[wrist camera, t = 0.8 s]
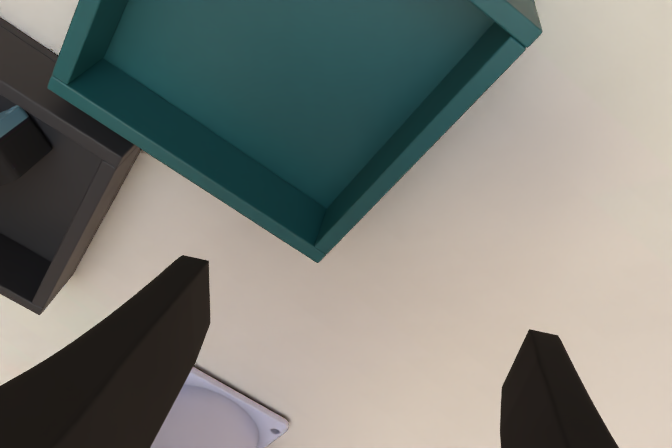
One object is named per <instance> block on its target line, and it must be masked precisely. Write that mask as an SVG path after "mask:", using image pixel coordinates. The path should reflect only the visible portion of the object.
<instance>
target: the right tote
mask: <svg viewBox="0 0 672 448" xmlns="http://www.w3.org/2000/svg"><path fill="white" fill-rule="evenodd" d="M541 34H542V28H541V25H540V21H539V17H538V14H537V10H536V7H535V2H534V0H79V2H78V5H77V7H76V10H75V13H74V16H73V18H72V21H71V24H70V26H69V29H68V32H67V34H66V37H65V40H64V43H63V45H62V48H61V51H60V53H59V56H58V59H57V61H56V64H55V67H54V70H53V72H52V76H51V78H50V80H49V83H48V86H47V88H48V89H49V90H51V91H52V92H54V93H55V94H57V95H58V96H60V97H62V98H63V99H65V100H66V101H68V102H69V103H71V104H72V105H74V106H75V107H77V108H79V109H80V110H82V111H83V112H85V113H86V114H88V115H89V116H91V117H92V118H94V119H96V120H97V121H99V122H100V123H102V124H103V125H105V126H106V127H108V128H109V129H111V130H113V131H114V132H116V133H117V134H119V135H120V136H122V137H123V138H125V139H126V140H128V141H130V142H131V143H133V144H134V145H136V146H137V147H139V148H140V149H142V150H143V151H145V152H147V153H148V154H150V155H151V156H153V157H154V158H156V159H157V160H159V161H160V162H162V163H164V164H165V165H167V166H168V167H170V168H171V169H173V170H174V171H176V172H177V173H179V174H181V175H182V176H184V177H185V178H187V179H188V180H190V181H191V182H193V183H194V184H196V185H198V186H199V187H201V188H202V189H204V190H205V191H207V192H208V193H210V194H211V195H213V196H215V197H216V198H218V199H219V200H221V201H222V202H224V203H225V204H227V205H228V206H230V207H232V208H233V209H235V210H236V211H238V212H239V213H241V214H242V215H244V216H245V217H247V218H249V219H250V220H252V221H253V222H255V223H256V224H258V225H259V226H261V227H262V228H264V229H266V230H267V231H269V232H270V233H272V234H273V235H275V236H276V237H278V238H279V239H281V240H283V241H284V242H286V243H287V244H289V245H290V246H292V247H293V248H295V249H296V250H298V251H300V252H301V253H303V254H304V255H306V256H307V257H309V258H310V259H312V260H313V261H315V262H317V263H319V262H320V261H321V260H322V259H323V258H324V257H325V256H326V254H327V253H329V251H330V250H331V249H332V248H333V247H334V246H335V245H336V244H337V243H338V242H339V241H340V240H341V239H342V238H343V237H344V236H345V235H346V234H347V233H348V232H349V231H350V230H351V229H352V228H353V227H354V226H355V225H356V224H357V223H358V222H359V221H360V220H361V219H362V218H363V217H364V216H365V214H366V213H367V212H368V211H369V210H370V209H371V208H372V207H373V206H374V205H375V204H376V203H377V202H378V201H379V200H380V199H381V198H382V197H383V196H384V195H385V194H386V193H387V192H388V191H389V190H390V189H391V188H392V187H393V186H394V185H395V184H396V183H397V182H398V181H399V180H400V179H401V177H402V176H403V175H404V174H405V173H406V172H407V171H408V170H409V169H410V168H411V167H412V166H413V165H414V164H415V163H416V162H417V161H418V160H419V159H420V158H421V157H422V156H423V155H424V154H425V153H426V152H427V151H428V150H429V149H430V148H431V147H432V146H433V145H434V144H435V143H436V142H437V141H438V139H439V138H440V137H441V136H442V135H443V134H444V133H445V132H446V131H447V130H448V129H449V128H450V127H451V126H452V125H453V124H454V123H455V122H456V121H457V120H458V119H459V118H460V117H461V116H462V115H463V114H464V113H465V112H466V111H467V110H468V109H469V108H470V107H471V106H472V105H473V104H474V102H475V101H476V100H477V99H478V98H479V97H480V96H481V95H482V94H483V93H484V92H485V91H486V90H487V89H488V88H489V87H490V86H491V85H492V84H493V83H494V82H495V81H496V80H497V79H498V78H499V77H500V76H501V75H502V74H503V73H504V72H505V71H506V70H507V69H508V68H509V67H510V65H511V64H512V63H513V62H514V61H515V60H516V59H517V58H518V57H519V56H520V55H521V54H522V53H523V52H524V51H525V49H526V48H525V47H529V46H530V45H531V44H532V43H533V42H534V41H535V40H536V39H537V38H538V37H539V36H540V35H541Z"/></svg>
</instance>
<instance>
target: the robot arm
mask: <svg viewBox="0 0 672 448" xmlns="http://www.w3.org/2000/svg"><path fill="white" fill-rule="evenodd" d="M209 325H210V294H209V261H207V260H202V259H198V258H193V257H188V256H184V255H182V256H181V257H179V258H178V259H177V260H175V261H174V262H173V263H172V264H171V265H170V266H169V267H167V268H166V269H165V270H164V271H163V272H162V273H160V274H159V275H158V276H157V277H156V278H155V279H153V280H152V281H151V282H150V283H149V284H148V285H146V286H145V287H144V288H143V289H142V290H140V291H139V292H138V293H137V294H136V295H134V296H133V297H132V298H131V299H129V300H128V301H127V302H126V303H124V304H123V305H122V306H121V307H119V308H118V309H117V310H115V311H114V312H113V313H112V314H110V315H109V316H108V317H107V318H105V319H104V320H103V321H101V322H100V323H98V324H97V325H96V326H94V327H93V328H91V329H90V330H89V331H87V332H86V333H84V334H83V335H82V336H80V337H79V338H78V339H76V340H75V341H73V342H72V343H70V344H69V345H67V346H66V347H64V348H63V349H61V350H60V351H58V352H57V353H55V354H54V355H52V356H51V357H49V358H47V359H46V360H44V361H42V362H41V363H39V364H38V365H36V366H34V367H33V368H31V369H29V370H28V371H26V372H24V373H22V374H21V375H19V376H17V377H15V378H14V379H12V380H10V381H8V382H6V383H5V384H3V385H1V386H0V448H265V447H267V446H268V445H269V444H271V443H272V442H273V441H275V440H276V439H277V438H278V437H280V436H281V435H282V434H284V433H285V432H286V431H287V430H288V427H289V422H288V421H287V420H286V419H285V418H283V417H281V416H279V415H278V414H276V413H274V412H272V411H270V410H269V409H267V408H265V407H263V406H262V405H260V404H258V403H256V402H255V401H253V400H251V399H249V398H248V397H246V396H244V395H242V394H240V393H239V392H237V391H235V390H233V389H232V388H230V387H228V386H226V385H225V384H223V383H221V382H219V381H218V380H216V379H214V378H212V377H210V376H209V375H207V374H205V373H203V372H202V371H200V370H198V369H196V368H195V367H193V366H194V364H195V362H196V359H197V357H198V354H199V352H200V349H201V346H202V344H203V341H204V339H205V336H206V333H207V330H208V328H209ZM500 437H501V448H619V447H618V446H617V444H616V442H615V441H614V439H613V437H612V436H611V434H610V432H609V430H608V429H607V427H606V425H605V423H604V422H603V420H602V418H601V416H600V415H599V413H598V411H597V409H596V408H595V406H594V404H593V402H592V400H591V398H590V397H589V395H588V393H587V391H586V389H585V387H584V385H583V383H582V381H581V379H580V377H579V376H578V374H577V372H576V370H575V368H574V366H573V364H572V362H571V360H570V358H569V356H568V354H567V352H566V350H565V348H564V346H563V344H562V342H561V340H560V338H559V337H558V335H553V334H548V333H544V332H539V331H534V330H530V329H529V331H528V333H527V335H526V337H525V340H524V342H523V344H522V346H521V348H520V350H519V352H518V354H517V356H516V359H515V361H514V363H513V365H512V367H511V369H510V371H509V373H508V376H507V378H506V380H505V382H504V384H503V386H502V396H501V420H500Z"/></svg>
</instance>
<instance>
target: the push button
mask: <svg viewBox="0 0 672 448" xmlns="http://www.w3.org/2000/svg"><path fill="white" fill-rule="evenodd" d="M52 149H53V148H52V147H51V145H50V144H49V142H48V141H47V140H46V138H45V137H44V136H43V134H42V133H41V132H40V130H39V129H38V128H37V126H36V125H35V124H34V122H33V121H32V119H31V118H30V117H29V116H28V114H27V113H26V112H25V110H24V109H22V108H21V107H19V106H18V105H16V106H13V107H11V108H10V109H8V110H6V111H3V112H1V113H0V186H2V185H5V184H8V183H11V182H14V181H16V180H17V179H19V178H20V177H21V176H23V175H24V174H25V173H26V172H27V171H28V170H29V169H31V168H32V167H33V166H34V165H35V164H36V163H37V162H39V161H40V160H41V159H42V158H43V157H44V156H46V155H47V154H48V153H49V152H50V151H51V150H52Z"/></svg>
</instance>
